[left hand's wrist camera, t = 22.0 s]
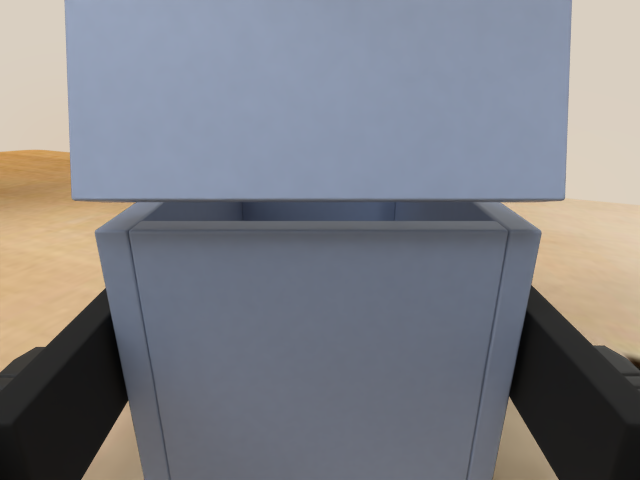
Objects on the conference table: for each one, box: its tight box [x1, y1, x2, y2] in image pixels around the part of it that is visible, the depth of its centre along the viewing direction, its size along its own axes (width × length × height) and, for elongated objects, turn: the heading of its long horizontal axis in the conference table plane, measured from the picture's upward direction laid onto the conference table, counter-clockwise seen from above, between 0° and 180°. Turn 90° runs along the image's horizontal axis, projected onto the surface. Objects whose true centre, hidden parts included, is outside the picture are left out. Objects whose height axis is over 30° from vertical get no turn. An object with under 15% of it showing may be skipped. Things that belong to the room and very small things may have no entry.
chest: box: [95, 202, 541, 480], centre depth 18 cm, size 14×10×10 cm
